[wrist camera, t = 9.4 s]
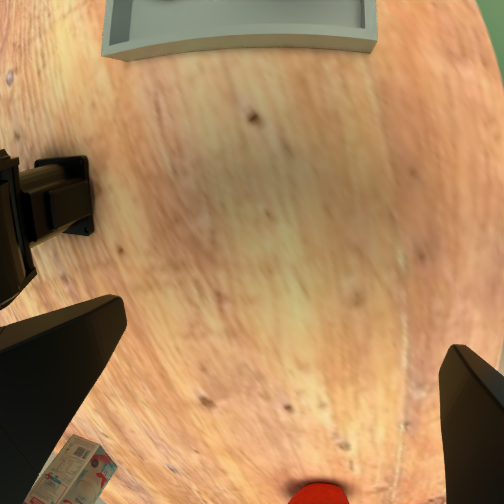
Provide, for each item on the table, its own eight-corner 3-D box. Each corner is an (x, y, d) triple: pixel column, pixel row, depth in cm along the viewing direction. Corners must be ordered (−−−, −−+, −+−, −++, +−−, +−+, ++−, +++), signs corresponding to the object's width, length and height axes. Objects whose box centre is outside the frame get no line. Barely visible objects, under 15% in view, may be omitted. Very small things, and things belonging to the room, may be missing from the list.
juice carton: (100, 444, 40) (33, 540, 20) (117, 467, 42) (60, 557, 22) (73, 434, 42) (7, 520, 22) (90, 456, 44) (33, 538, 24)
